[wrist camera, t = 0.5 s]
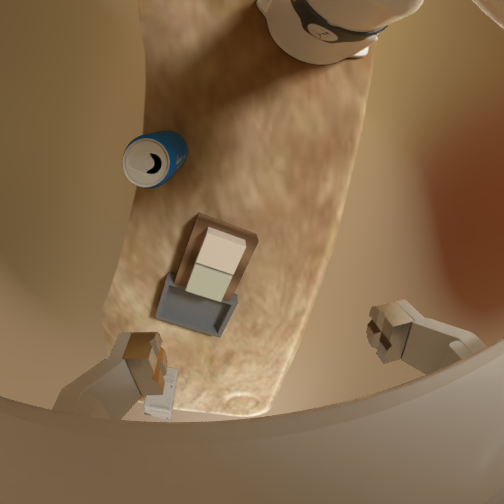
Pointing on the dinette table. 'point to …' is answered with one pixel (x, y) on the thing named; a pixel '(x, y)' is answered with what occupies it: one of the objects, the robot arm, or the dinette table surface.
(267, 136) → the dinette table surface
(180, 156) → the beverage can
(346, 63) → the dinette table surface
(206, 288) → the tile back
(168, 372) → the skincare box
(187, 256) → the walnut plate
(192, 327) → the box
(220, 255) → the tile front
